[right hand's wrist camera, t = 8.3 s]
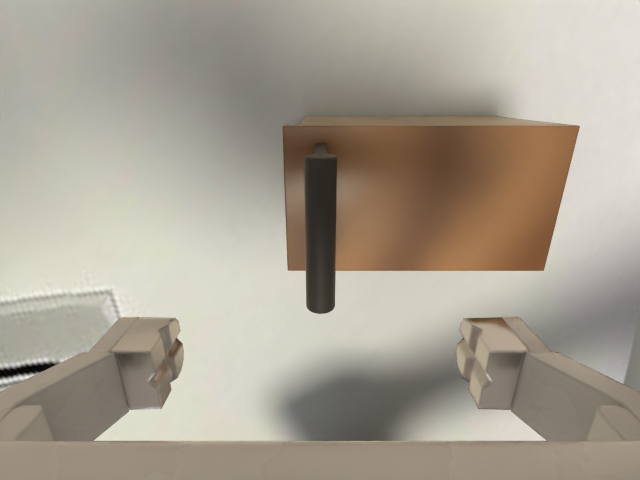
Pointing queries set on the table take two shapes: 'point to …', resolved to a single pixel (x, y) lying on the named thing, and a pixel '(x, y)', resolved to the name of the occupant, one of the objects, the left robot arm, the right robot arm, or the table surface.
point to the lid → (420, 198)
